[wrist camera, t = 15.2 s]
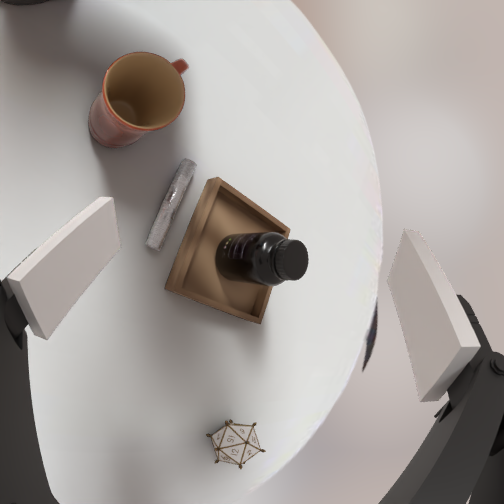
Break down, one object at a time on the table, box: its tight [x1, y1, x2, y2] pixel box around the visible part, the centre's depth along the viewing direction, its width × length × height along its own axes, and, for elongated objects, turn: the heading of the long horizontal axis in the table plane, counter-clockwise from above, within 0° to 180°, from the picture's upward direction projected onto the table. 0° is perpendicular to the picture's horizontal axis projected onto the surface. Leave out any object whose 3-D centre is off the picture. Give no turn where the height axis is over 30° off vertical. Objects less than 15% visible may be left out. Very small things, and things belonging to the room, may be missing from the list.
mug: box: [88, 52, 189, 148], centre depth 29 cm, size 12×9×10 cm
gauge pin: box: [145, 159, 196, 251], centre depth 37 cm, size 12×2×2 cm, turn 156°
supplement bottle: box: [215, 232, 309, 286], centre depth 40 cm, size 7×7×12 cm
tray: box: [165, 177, 290, 324], centre depth 44 cm, size 16×16×2 cm
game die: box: [206, 419, 266, 469], centre depth 42 cm, size 9×8×10 cm
